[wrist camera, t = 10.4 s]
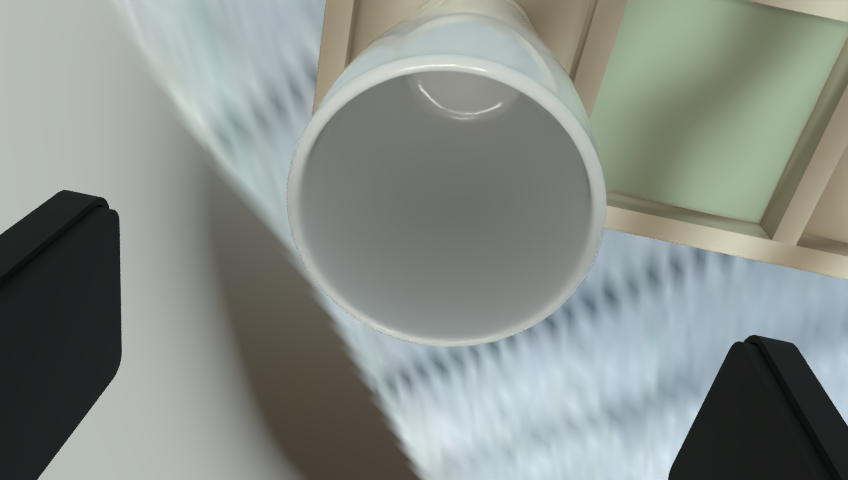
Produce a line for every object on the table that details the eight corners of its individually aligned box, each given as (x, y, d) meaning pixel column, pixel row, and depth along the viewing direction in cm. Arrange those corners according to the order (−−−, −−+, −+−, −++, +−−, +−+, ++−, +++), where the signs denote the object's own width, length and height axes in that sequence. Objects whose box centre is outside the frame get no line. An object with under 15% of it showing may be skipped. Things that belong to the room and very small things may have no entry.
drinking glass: (452, 165, 30) (416, 398, 17) (349, 36, 28) (213, 184, 15) (590, 70, 27) (676, 253, 14) (489, -80, 25) (478, -28, 12)
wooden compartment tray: (1129, 47, 26) (1187, 63, 24) (973, 282, 31) (1009, 313, 29) (353, -121, 26) (340, -121, 24) (319, 144, 31) (306, 164, 29)
